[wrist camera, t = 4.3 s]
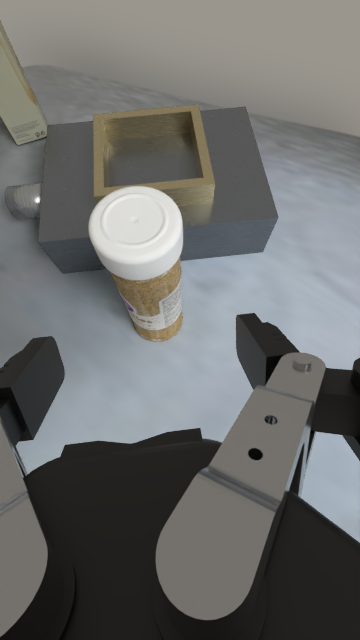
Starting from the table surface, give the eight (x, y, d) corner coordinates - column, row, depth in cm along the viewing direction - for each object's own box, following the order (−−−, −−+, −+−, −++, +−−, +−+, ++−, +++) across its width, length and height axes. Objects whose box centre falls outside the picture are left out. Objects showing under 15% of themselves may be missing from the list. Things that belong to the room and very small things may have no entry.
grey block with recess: (236, 152, 33) (249, 84, 26) (262, 252, 28) (286, 199, 21) (32, 172, 32) (-7, 107, 26) (22, 277, 27) (-29, 231, 21)
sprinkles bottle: (124, 324, 26) (64, 226, 13) (155, 288, 27) (129, 167, 14) (162, 353, 24) (139, 278, 12) (193, 315, 26) (202, 210, 13)
